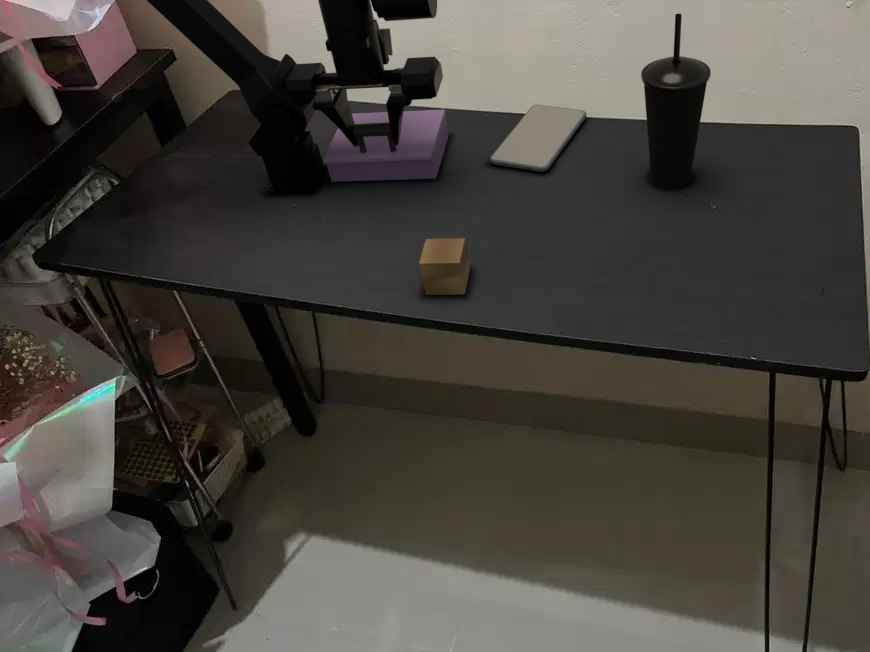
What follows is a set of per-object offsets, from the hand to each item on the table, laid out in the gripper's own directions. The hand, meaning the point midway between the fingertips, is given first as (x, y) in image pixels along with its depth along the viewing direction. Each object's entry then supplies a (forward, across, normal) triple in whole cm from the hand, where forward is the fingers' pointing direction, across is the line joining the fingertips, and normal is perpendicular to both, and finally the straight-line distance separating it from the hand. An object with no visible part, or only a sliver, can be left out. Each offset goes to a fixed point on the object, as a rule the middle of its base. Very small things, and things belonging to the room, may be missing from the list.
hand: (377, 144), depth 107 cm
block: (+5, -12, +22) cm, 26 cm away
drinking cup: (+5, -37, +2) cm, 37 cm away
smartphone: (+5, -20, -8) cm, 22 cm away
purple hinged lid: (+2, 0, -4) cm, 5 cm away
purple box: (+5, 0, -5) cm, 7 cm away
